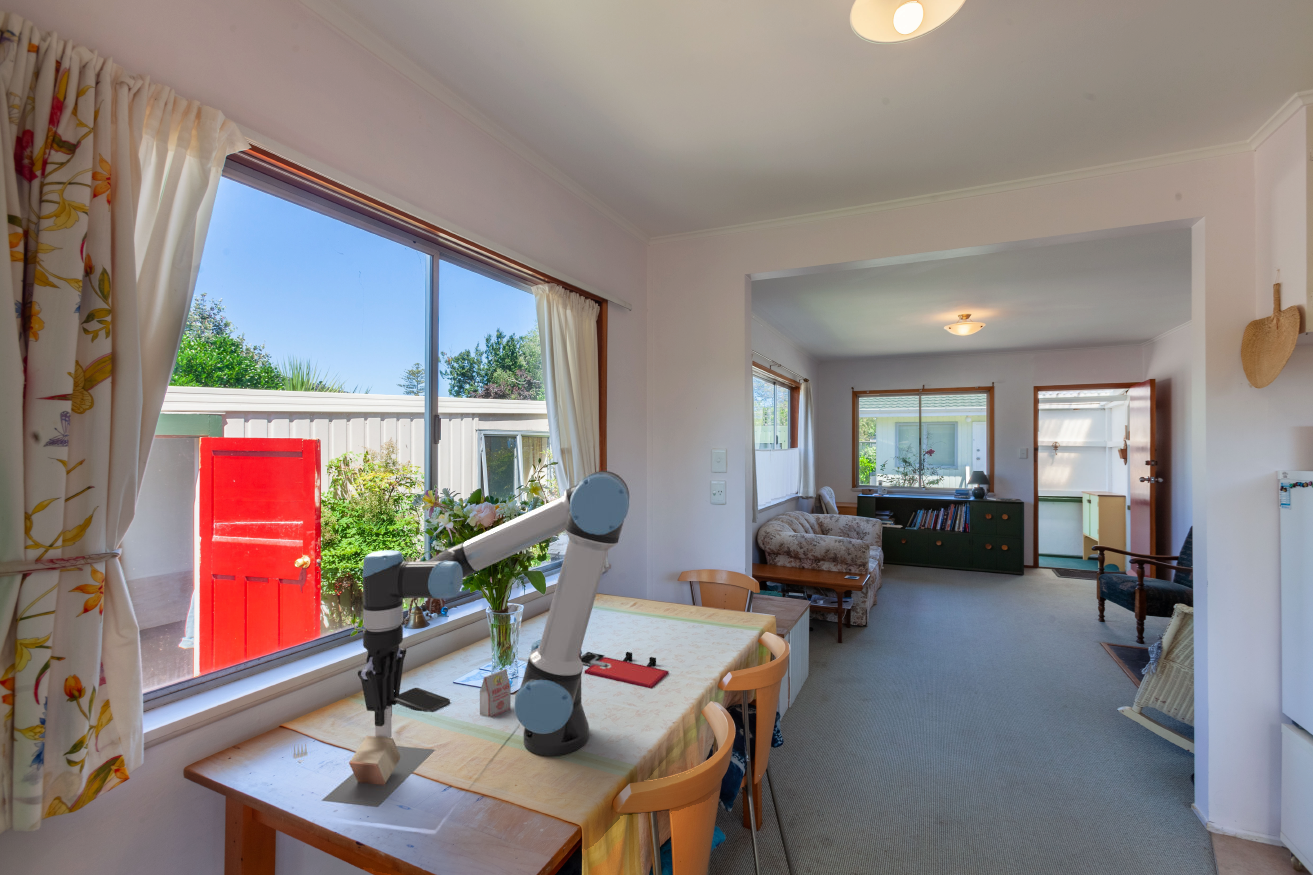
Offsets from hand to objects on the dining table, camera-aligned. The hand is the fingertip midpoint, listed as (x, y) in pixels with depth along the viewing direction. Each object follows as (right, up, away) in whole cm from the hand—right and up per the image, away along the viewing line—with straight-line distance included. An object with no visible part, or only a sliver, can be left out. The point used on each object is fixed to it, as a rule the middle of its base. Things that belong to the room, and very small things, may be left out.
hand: (383, 737), depth 120 cm
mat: (0, -8, 0) cm, 8 cm away
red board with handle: (+46, -8, +54) cm, 72 cm away
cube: (0, -2, 0) cm, 2 cm away
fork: (-19, -8, +3) cm, 21 cm away
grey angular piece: (+16, -8, +27) cm, 33 cm away
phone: (-6, -8, +33) cm, 34 cm away
